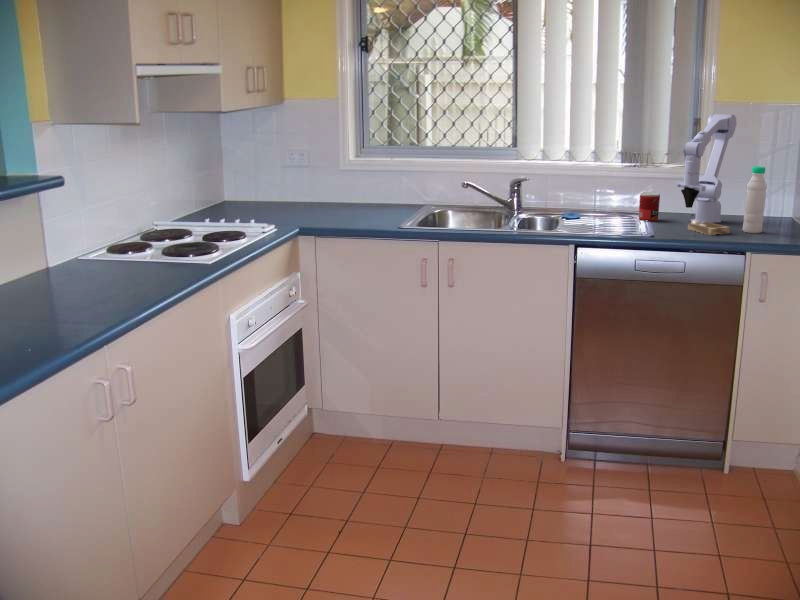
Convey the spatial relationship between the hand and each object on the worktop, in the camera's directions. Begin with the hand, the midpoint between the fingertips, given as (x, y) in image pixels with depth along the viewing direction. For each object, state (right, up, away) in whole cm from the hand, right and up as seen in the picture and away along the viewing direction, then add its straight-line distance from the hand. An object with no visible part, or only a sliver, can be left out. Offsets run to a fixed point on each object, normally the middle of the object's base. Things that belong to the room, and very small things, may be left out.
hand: (688, 207), depth 346 cm
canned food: (-11, -4, +17) cm, 21 cm away
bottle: (+1, -7, -3) cm, 8 cm away
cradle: (+4, -10, -8) cm, 13 cm away
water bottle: (+21, -11, -9) cm, 25 cm away
